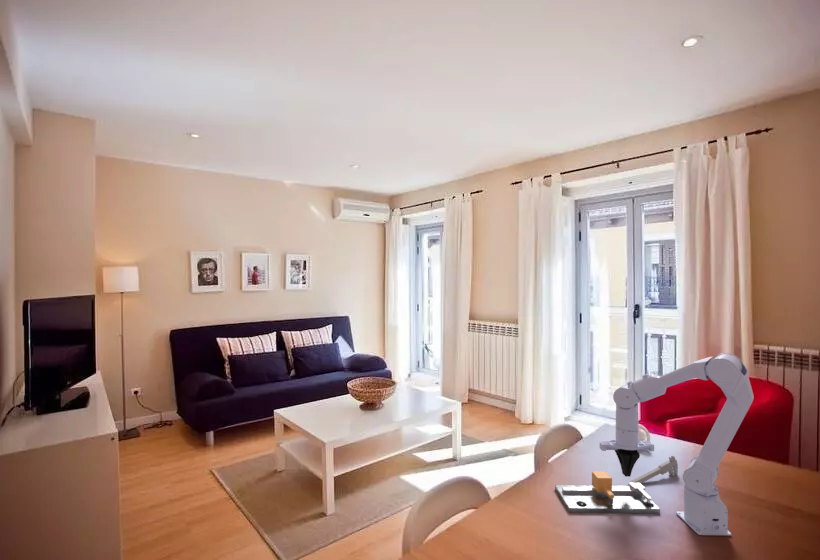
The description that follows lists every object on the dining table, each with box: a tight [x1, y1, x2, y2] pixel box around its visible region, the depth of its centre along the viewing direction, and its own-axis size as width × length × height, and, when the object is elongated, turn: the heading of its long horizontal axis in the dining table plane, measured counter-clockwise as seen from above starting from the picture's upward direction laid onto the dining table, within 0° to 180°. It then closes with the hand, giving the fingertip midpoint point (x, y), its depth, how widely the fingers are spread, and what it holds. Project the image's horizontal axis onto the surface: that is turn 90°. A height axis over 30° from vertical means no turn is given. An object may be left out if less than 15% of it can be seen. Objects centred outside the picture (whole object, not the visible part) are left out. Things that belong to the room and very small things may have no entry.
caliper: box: [626, 455, 679, 486], centre depth 130 cm, size 20×1×6 cm, turn 112°
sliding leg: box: [591, 470, 614, 504], centre depth 118 cm, size 8×4×5 cm, turn 178°
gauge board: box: [554, 482, 661, 514], centre depth 118 cm, size 12×24×3 cm, turn 88°
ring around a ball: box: [638, 423, 651, 442], centre depth 154 cm, size 8×6×8 cm
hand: (626, 474), depth 120 cm, fingers closed
